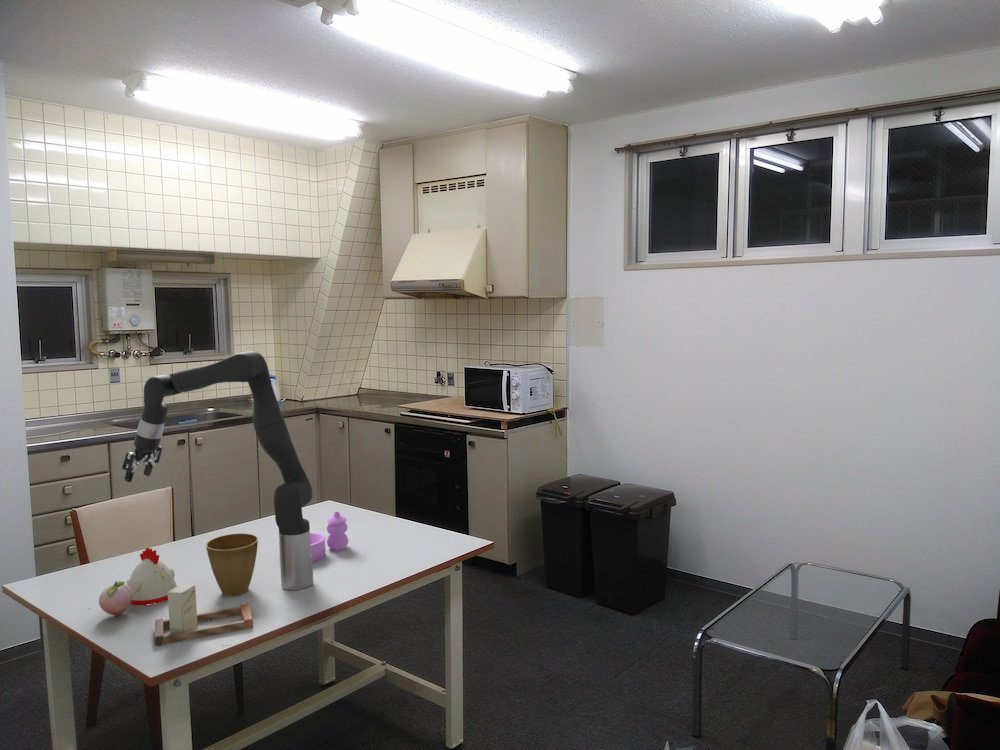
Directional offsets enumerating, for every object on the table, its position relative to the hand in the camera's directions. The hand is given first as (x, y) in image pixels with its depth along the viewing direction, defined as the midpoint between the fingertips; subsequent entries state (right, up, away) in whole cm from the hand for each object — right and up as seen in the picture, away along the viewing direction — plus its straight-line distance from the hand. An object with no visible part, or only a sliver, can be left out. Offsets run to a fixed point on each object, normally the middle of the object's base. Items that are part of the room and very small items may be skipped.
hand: (137, 478), depth 239 cm
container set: (+54, -29, +17) cm, 64 cm away
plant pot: (+38, -33, -16) cm, 52 cm away
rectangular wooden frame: (+38, -35, -41) cm, 66 cm away
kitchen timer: (+13, -33, -18) cm, 40 cm away
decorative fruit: (+10, -35, -32) cm, 48 cm away
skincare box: (+34, -35, -43) cm, 65 cm away
